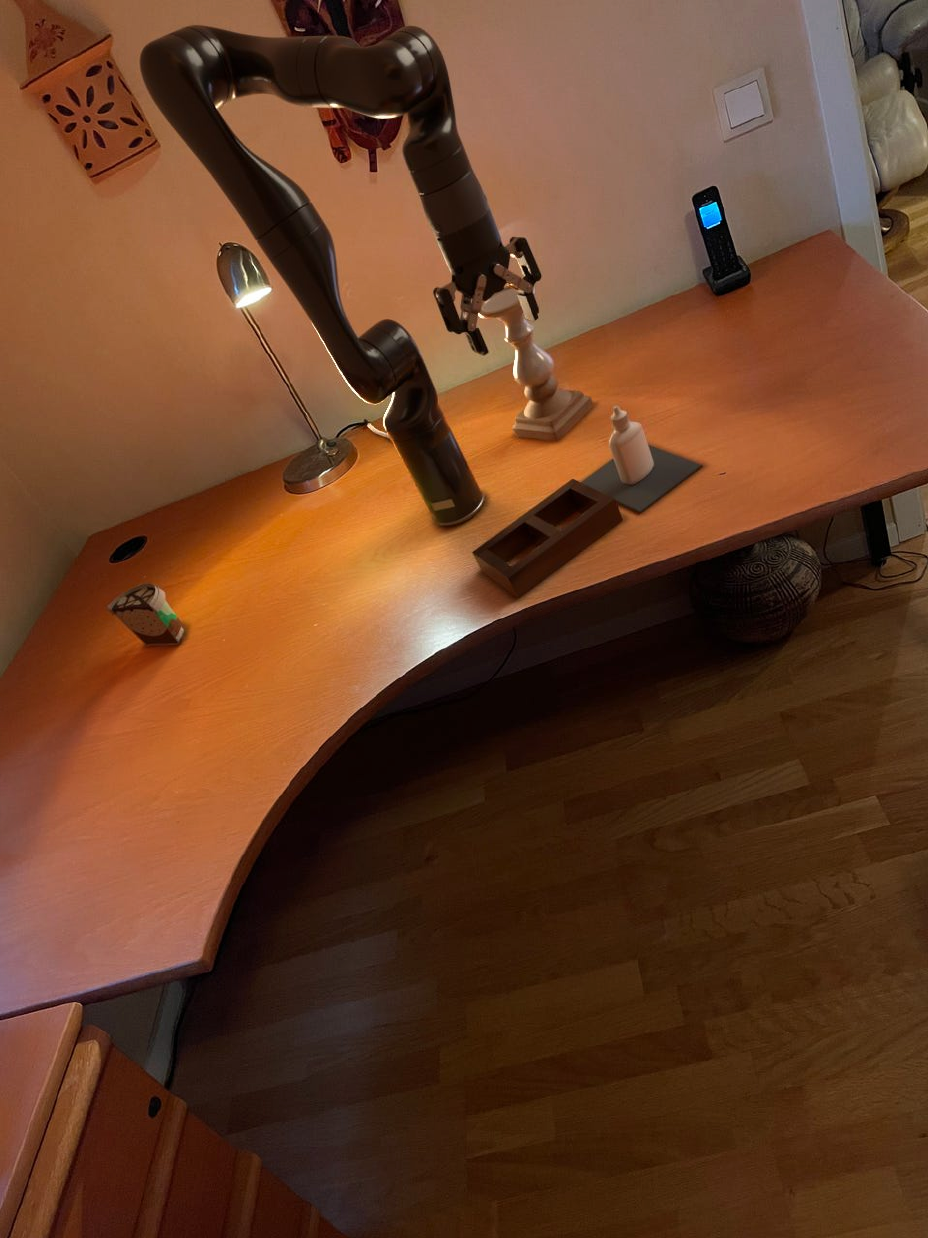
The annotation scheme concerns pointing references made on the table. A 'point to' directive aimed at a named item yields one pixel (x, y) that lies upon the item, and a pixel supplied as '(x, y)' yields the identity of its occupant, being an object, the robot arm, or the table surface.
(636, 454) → the eye dropper bottle
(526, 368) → the candle holder
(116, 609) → the food container
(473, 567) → the table surface
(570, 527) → the rack
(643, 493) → the mat
